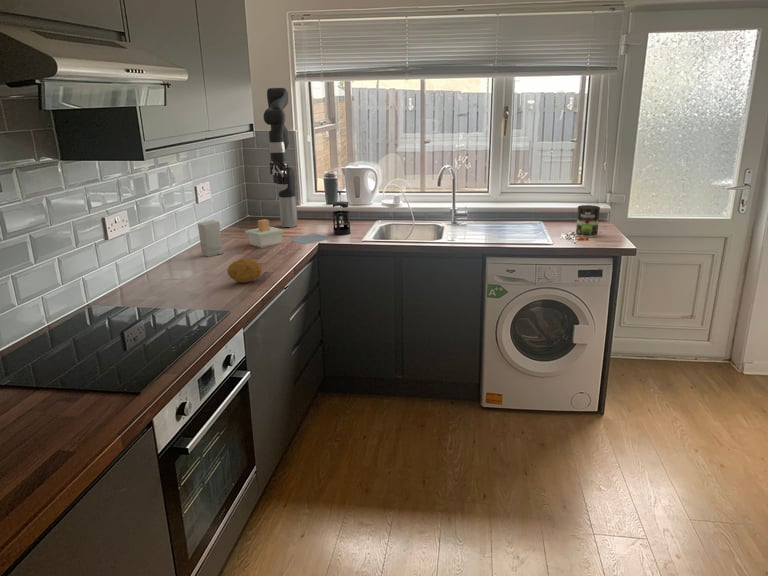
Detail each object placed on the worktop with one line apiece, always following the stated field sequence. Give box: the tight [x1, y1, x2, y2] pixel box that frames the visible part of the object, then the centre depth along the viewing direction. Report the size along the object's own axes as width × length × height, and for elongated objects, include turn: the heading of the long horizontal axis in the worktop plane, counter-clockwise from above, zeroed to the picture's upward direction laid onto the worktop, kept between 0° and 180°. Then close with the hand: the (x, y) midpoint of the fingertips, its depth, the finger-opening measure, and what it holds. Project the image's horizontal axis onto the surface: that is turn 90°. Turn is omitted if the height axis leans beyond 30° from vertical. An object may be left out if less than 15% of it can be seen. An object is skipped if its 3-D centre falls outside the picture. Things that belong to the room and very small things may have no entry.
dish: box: [247, 233, 283, 249], centre depth 287 cm, size 12×12×6 cm
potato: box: [227, 258, 262, 284], centre depth 225 cm, size 10×13×9 cm
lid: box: [244, 218, 285, 237], centre depth 286 cm, size 14×14×6 cm
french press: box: [331, 190, 352, 237], centre depth 302 cm, size 12×9×23 cm
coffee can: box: [575, 204, 601, 238], centre depth 283 cm, size 10×10×14 cm
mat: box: [285, 233, 334, 245], centre depth 296 cm, size 18×18×1 cm
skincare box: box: [197, 220, 224, 258], centre depth 269 cm, size 8×7×16 cm
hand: (280, 183), depth 294 cm, fingers open, 8 cm apart
